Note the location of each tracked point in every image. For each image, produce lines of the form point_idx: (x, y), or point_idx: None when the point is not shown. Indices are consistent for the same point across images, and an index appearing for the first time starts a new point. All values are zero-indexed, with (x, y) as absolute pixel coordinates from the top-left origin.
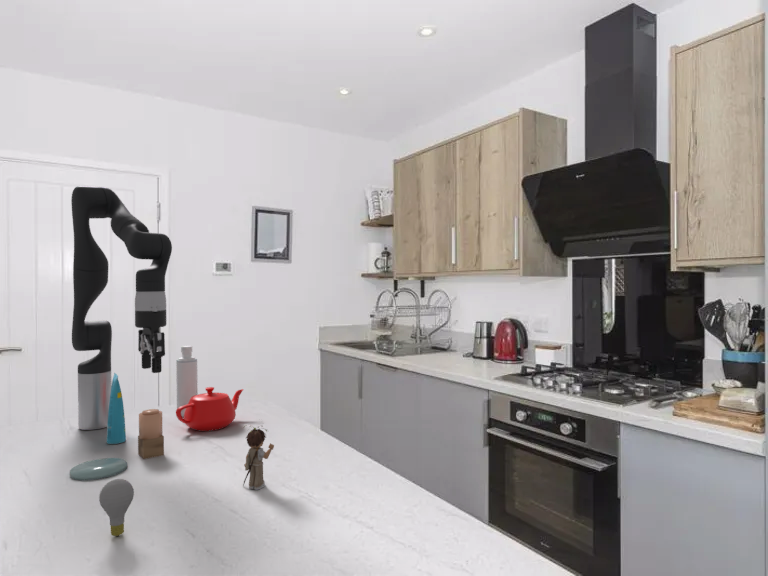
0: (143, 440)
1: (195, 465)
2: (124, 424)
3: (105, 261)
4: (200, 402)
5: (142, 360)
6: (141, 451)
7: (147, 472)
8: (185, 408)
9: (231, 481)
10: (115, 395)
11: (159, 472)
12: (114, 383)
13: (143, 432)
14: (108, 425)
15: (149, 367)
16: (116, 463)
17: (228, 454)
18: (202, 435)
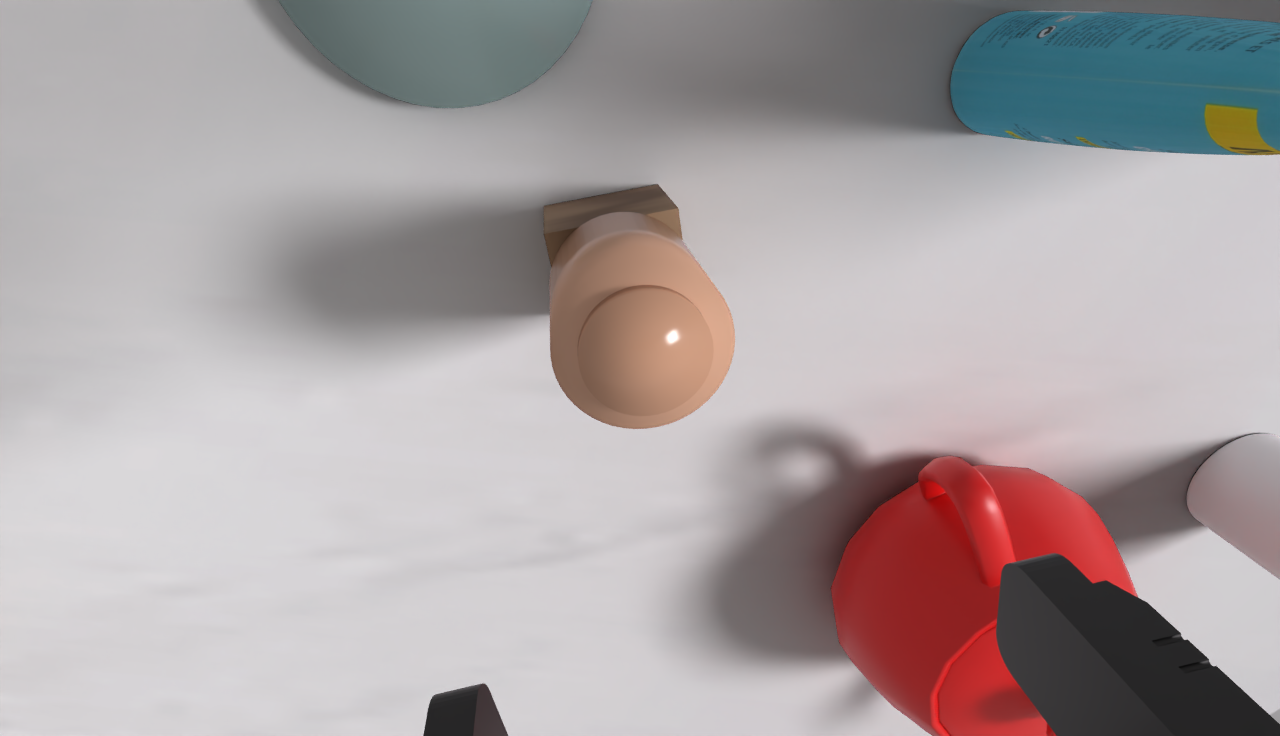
0: (544, 234)
1: (308, 433)
2: (1042, 139)
3: None
4: (962, 624)
5: (1125, 680)
6: (588, 205)
7: (281, 207)
8: (1243, 496)
9: (3, 542)
10: (1242, 84)
11: (257, 266)
12: None
13: (571, 249)
14: (1077, 18)
15: (1001, 644)
16: (445, 41)
17: (420, 571)
18: (802, 506)
